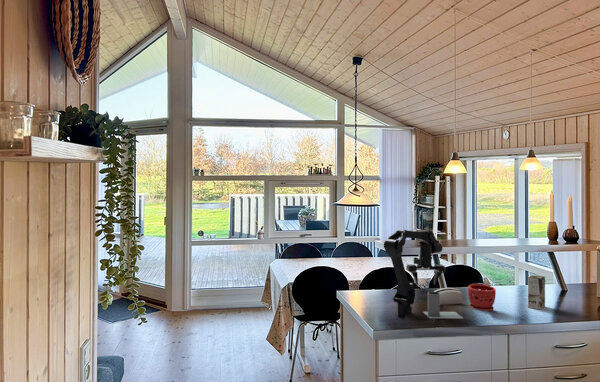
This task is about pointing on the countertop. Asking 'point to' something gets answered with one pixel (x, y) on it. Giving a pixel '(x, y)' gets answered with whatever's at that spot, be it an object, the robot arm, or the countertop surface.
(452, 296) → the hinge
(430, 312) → the steel sleeve
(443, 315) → the base plate
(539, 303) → the coffee box
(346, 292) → the countertop surface
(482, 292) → the plant pot
